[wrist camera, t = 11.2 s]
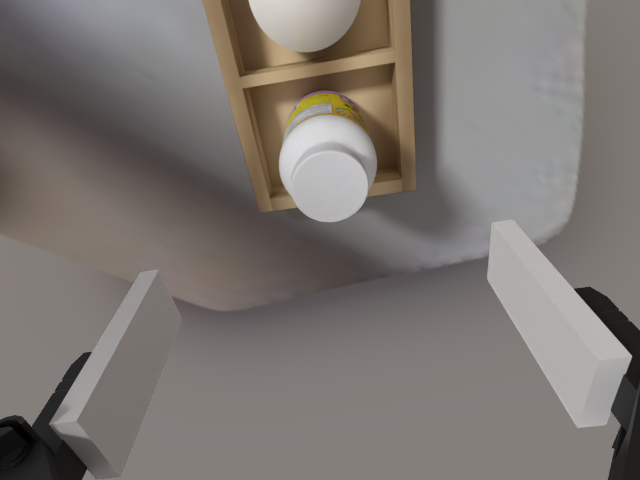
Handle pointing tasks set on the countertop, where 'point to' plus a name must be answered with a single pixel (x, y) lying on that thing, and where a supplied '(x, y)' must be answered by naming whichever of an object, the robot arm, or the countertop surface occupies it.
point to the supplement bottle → (327, 157)
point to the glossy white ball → (305, 21)
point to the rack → (319, 89)
